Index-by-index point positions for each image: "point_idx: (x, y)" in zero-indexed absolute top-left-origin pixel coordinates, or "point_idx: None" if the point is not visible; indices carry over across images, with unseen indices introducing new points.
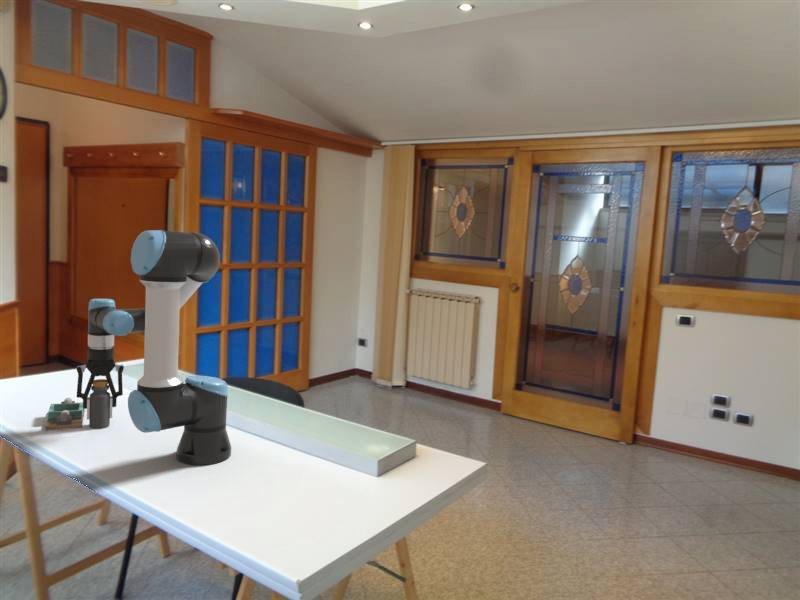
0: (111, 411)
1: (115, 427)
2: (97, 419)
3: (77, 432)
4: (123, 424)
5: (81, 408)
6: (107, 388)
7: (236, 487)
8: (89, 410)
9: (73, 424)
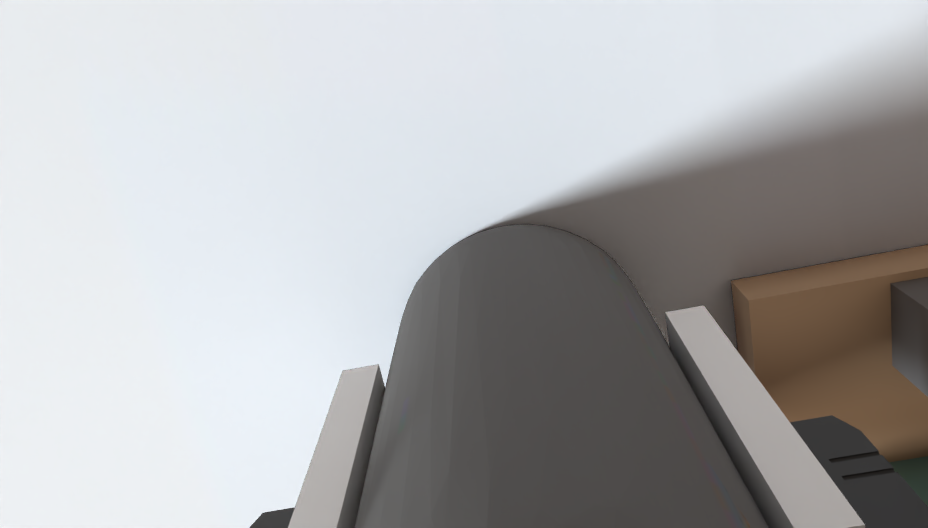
0: (333, 425)
1: (306, 277)
2: (534, 266)
3: (760, 82)
4: (240, 389)
5: None
6: None
7: None
8: (709, 386)
9: (859, 284)
